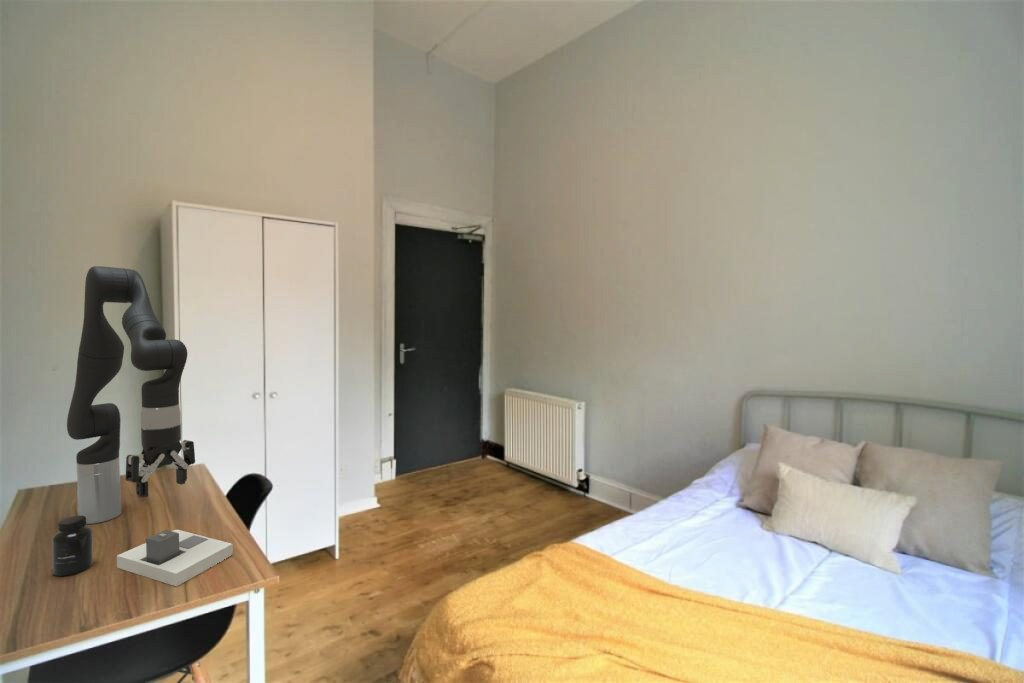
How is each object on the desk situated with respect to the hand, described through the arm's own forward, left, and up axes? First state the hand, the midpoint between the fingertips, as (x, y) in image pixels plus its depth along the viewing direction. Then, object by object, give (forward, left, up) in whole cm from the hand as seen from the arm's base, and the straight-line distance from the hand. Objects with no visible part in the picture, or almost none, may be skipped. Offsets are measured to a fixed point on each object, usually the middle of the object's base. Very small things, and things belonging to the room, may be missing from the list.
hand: (162, 490), depth 110 cm
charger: (+1, -1, -19) cm, 19 cm away
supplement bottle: (-17, -9, -19) cm, 27 cm away
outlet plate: (+1, +2, -18) cm, 19 cm away
